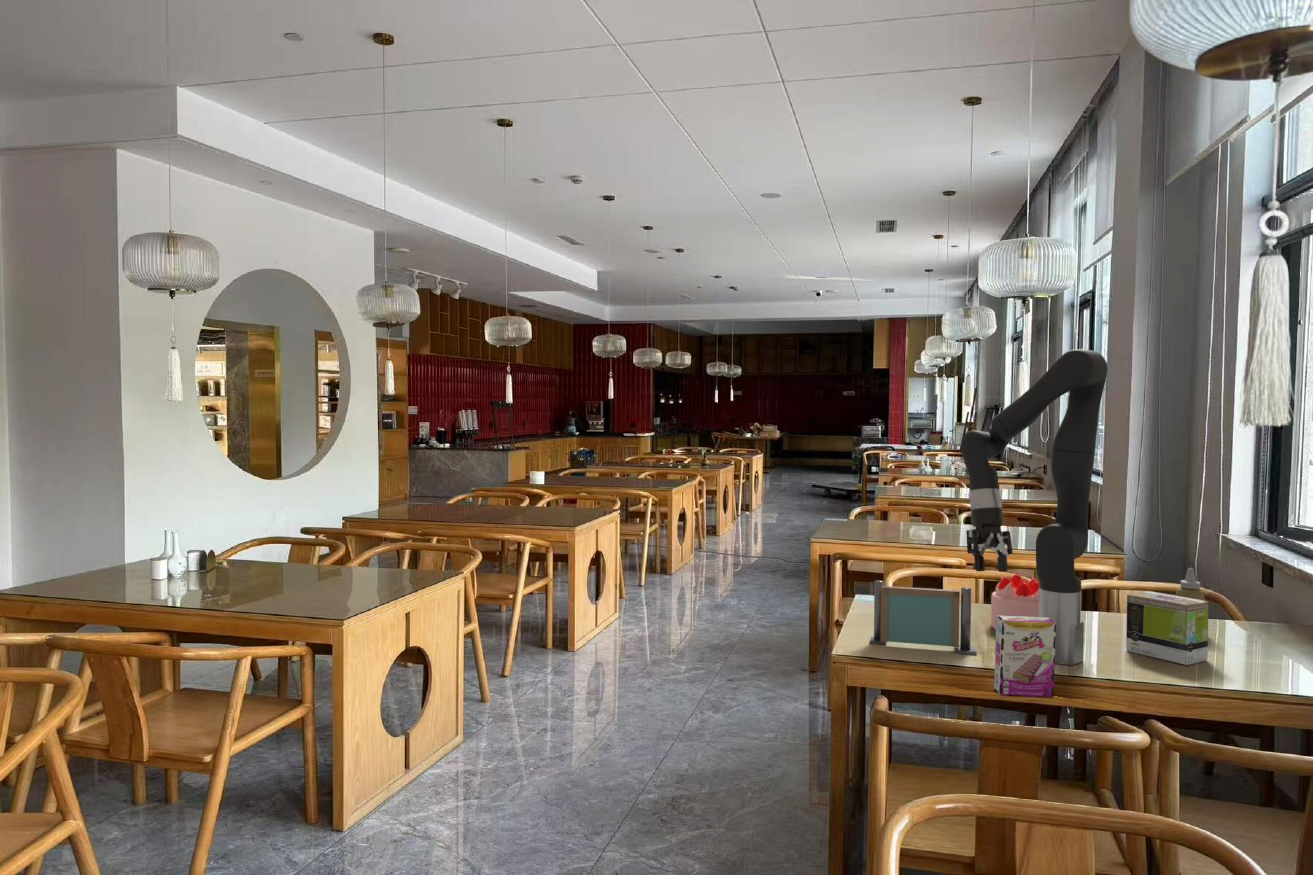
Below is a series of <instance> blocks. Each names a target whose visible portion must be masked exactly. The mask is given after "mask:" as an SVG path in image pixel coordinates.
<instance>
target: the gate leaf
mask: <svg viewBox="0 0 1313 875" xmlns="http://www.w3.org/2000/svg"><path fill="white" fill-rule="evenodd" d="M960 603H961V590H959V589H955V590H954V589H942V588H941V589H940V588H939V589H938V588H927V587H926V588H924V587H907V586H890V585H884V586H881V641H883V642H886V643H889V642H891V643H900V644H901V643H903V644H917V645H929V646H939V647H940V646H942V647H943V646H944V647H953V648H954V647H959V645H960Z"/></svg>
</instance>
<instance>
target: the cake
mask: <svg viewBox="0 0 1313 875" xmlns="http://www.w3.org/2000/svg"><path fill="white" fill-rule="evenodd" d="M990 600H991V602H990V604H991V605H990V608H991V610H990V611H991V612H990V625H991V627H992V628H993V629H994V630H996V616H1024V617H1039V582H1038V581H1037V580H1036V578H1035V576H1034V575H1033V574H1032V575H1031V579H1030V581H1027V580H1025V579H1023V578H1022V576H1021V575H1020V574H1013V575H1012V576H1011V578H1009V577H1005V576H1004V577H1003V576H1002V575H1000V581H999V582H998V583H997V584H996V586H995V591H993V592H992V593H991V599H990Z"/></svg>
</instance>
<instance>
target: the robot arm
mask: <svg viewBox="0 0 1313 875" xmlns="http://www.w3.org/2000/svg"><path fill="white" fill-rule="evenodd" d="M1107 376H1108V363H1107V360H1106V359H1105V357H1104V356H1103V355H1102V354H1101V353H1100V352H1098V351H1096V350H1091V349H1083V348H1082V349H1081V348H1080V349H1079V348H1075V349H1070V350H1068V351H1066V352H1065V353H1063V354H1062V355H1061V356H1060V357H1059V358H1057V360H1056V361H1055V362H1054V363H1053V364H1052V365H1051V367H1049V369H1047V371H1046V372H1045V373H1044V374H1043V375H1042V376H1041V377H1040V378H1039V379H1038V380H1037V381H1036V382H1035V383H1034V384H1033V385H1032V386H1031V387H1030V388H1029V389H1028V390H1027V391H1025V392H1024V393H1023V394H1022V395H1021V396H1019V397H1018V398H1017V399H1015V400H1014V401H1013V402H1011V403H1010V404H1009V405H1007V406H1006V407H1005V408H1004V409H1002V410H1001V411H1000V412H999V413H998V414H996V415H995V416H994V417H992V419H991V420H990V426H991V427H990V428H989V429H988V430H987V431H981V430H976V429H975V430H974V429H973V430H969V431H967V432H966V433H965V434H964V435H963V436H962V438H961V442H960V451H961V456H962V459H963V462H964V463H963V464H964V465H965V468H966V471H967V474H968V478H969V481H968V483H969V492H970V493H969V506H970V515H971V516H970V517H971V526H972V527H974V529H973V528H972V529H967V530H966V534H965V535H966V552H967V554H971V556H973V558H974V567H975V568H974V569H975V571H976V572H985V570H986V567H985V566H986V565H985V557H984V554H985V551H986V550H988V548H990V549H991V550H992V551H994V553H995V555H997V557H996V558H997V559H996V560H997V569H998V570H997V571H998V572H999V573H1005V572H1006V573H1007V572H1008V567H1009V566H1008V556H1009V555H1012V554H1013V546H1012V538H1011V532H1010V530H1001V527H1002V526H1003V525H1004V515H1003V505H1002V496H1001V493H1000V492H1001V491H1000V486H999V484H1000V483H999V475H998V471H997V469H996V468H995V467H993V466H992V465H991V464H990V462H989V460H990V459H992V458H995V457H996V456H998V455H999V454H1001V452H1003V451H1004V450H1005V448H1006V447H1007V446H1008V445H1009V444H1010V443H1011V441H1012V440H1013V439H1014V438H1015V437H1016V436H1018V435H1019V434H1020V433H1022V432H1023V431H1025V430H1026V429H1027V428H1029V427H1030V426H1031V425H1033V424H1034V422H1036V420H1038V418H1039V417H1040V416H1041V415H1042V414H1043V412H1045V410H1046V409H1047V408H1048V406H1050V405H1051V404H1052V403H1054V401H1055V400H1057V399H1058V398H1060V397H1061V396H1063V395H1065V394H1066V393H1068V403H1067V408H1066V412H1065V413H1064V416H1063V419H1062V421H1061V423H1060V425H1059V427H1058V430H1057V431H1056V435H1055V436H1054V440H1053V445H1052V452H1051V461H1050V471H1051V477H1052V480H1053V485H1054V489H1055V492H1056V498H1057V499H1056V501H1057V502H1056V503H1057V504H1056V513H1055V519H1054V522H1053V523H1052V524H1048V525H1046V526H1044V527H1042V528H1041V529H1040V530H1039V531H1038V534H1037V536H1036V540H1035V571H1036V577H1037V579H1038V581H1039V582H1038V583H1039V617H1047V618H1050V619H1051V620H1053V621H1054V622H1055V623H1056V636H1055V664H1056V665H1057V664H1058V665H1069V666H1070V665H1071V666H1075V665H1077V664H1079V663H1081V662H1083V661H1084V635H1085V634H1084V630H1085V629H1084V627H1085V623H1084V621H1081V615H1082V581H1081V578H1080V577H1078V576H1077V575H1076V573H1075V570H1076V568H1075V560H1076V559H1079V558H1080V557H1081V556H1083V555H1084V553H1085V552H1086V550H1087V546H1088V542H1089V540H1088V539H1089V527H1088V526H1089V518H1088V515H1089V501H1090V494H1091V486H1092V478H1093V477H1092V476H1093V471H1094V463H1095V456H1096V443H1097V435H1098V426H1099V425H1098V424H1099V414H1100V413H1099V412H1100V406H1101V401H1102V398H1103V392H1104V389H1105V385H1106V380H1107ZM1006 548H1007V549H1006Z"/></svg>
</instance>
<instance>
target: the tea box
mask: <svg viewBox="0 0 1313 875" xmlns="http://www.w3.org/2000/svg"><path fill="white" fill-rule="evenodd" d="M1125 636H1126V640H1125V642H1126V646H1125V647H1126V649H1125V650H1126V652H1130V653H1135V654H1139V655H1142V656H1147V657H1151V658H1156V659H1159V660H1164V661H1168V662H1171V663H1176V664H1181V665H1183V666H1187V665H1193V664H1198V663H1202V662H1206V661H1207V660H1208V656H1209V655H1208V651H1209V650H1208V648H1209V601H1207V600H1198V599H1192V598H1186V597H1181V596H1176V594H1168V593H1163V592H1157V591H1151V590H1150V591H1149V590H1148V591H1140V592H1136V593H1135V592H1133V593H1129V594H1126V635H1125Z"/></svg>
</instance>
